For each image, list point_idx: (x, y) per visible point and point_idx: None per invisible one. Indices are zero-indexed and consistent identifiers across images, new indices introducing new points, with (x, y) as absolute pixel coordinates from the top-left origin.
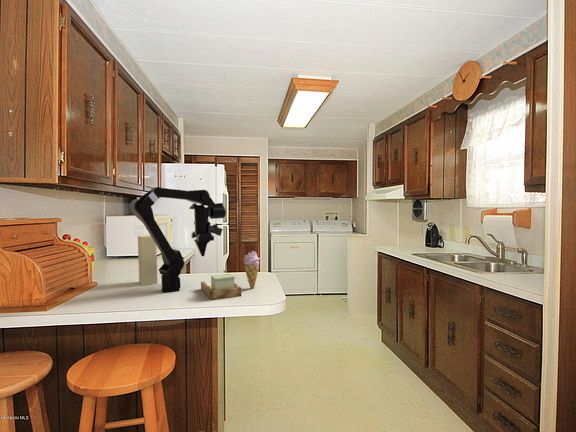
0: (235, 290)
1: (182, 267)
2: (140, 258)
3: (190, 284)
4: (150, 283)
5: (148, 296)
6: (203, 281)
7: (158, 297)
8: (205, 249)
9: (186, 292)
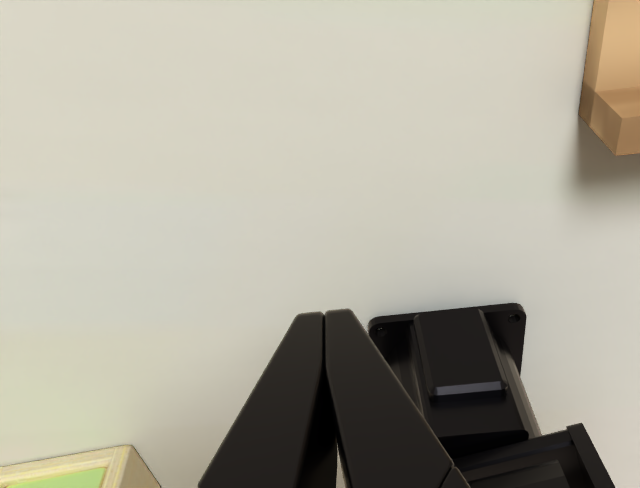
0: None
1: (562, 474)
2: None
3: (270, 211)
4: (151, 483)
5: None
6: (619, 123)
7: (627, 414)
8: (435, 446)
9: (615, 250)
